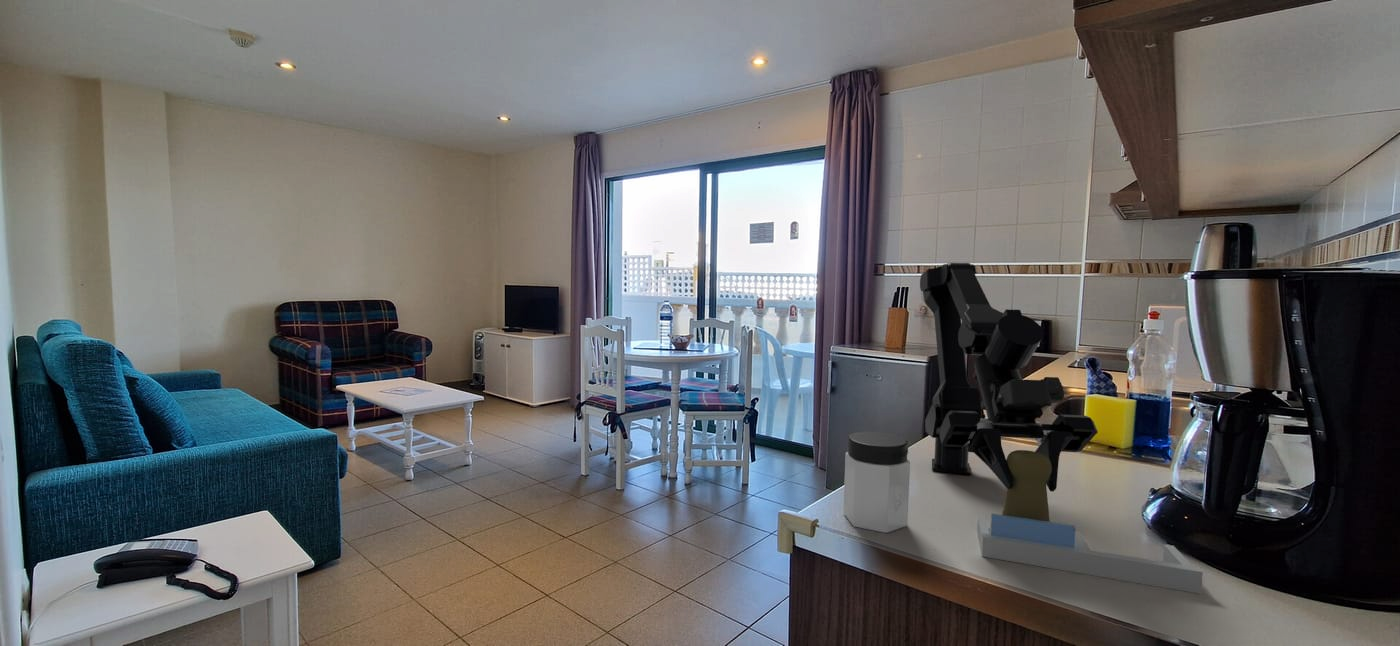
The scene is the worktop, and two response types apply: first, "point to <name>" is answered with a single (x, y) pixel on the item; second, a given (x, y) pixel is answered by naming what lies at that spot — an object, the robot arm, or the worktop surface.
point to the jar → (877, 481)
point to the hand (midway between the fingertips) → (1031, 489)
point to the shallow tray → (1080, 553)
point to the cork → (1028, 485)
